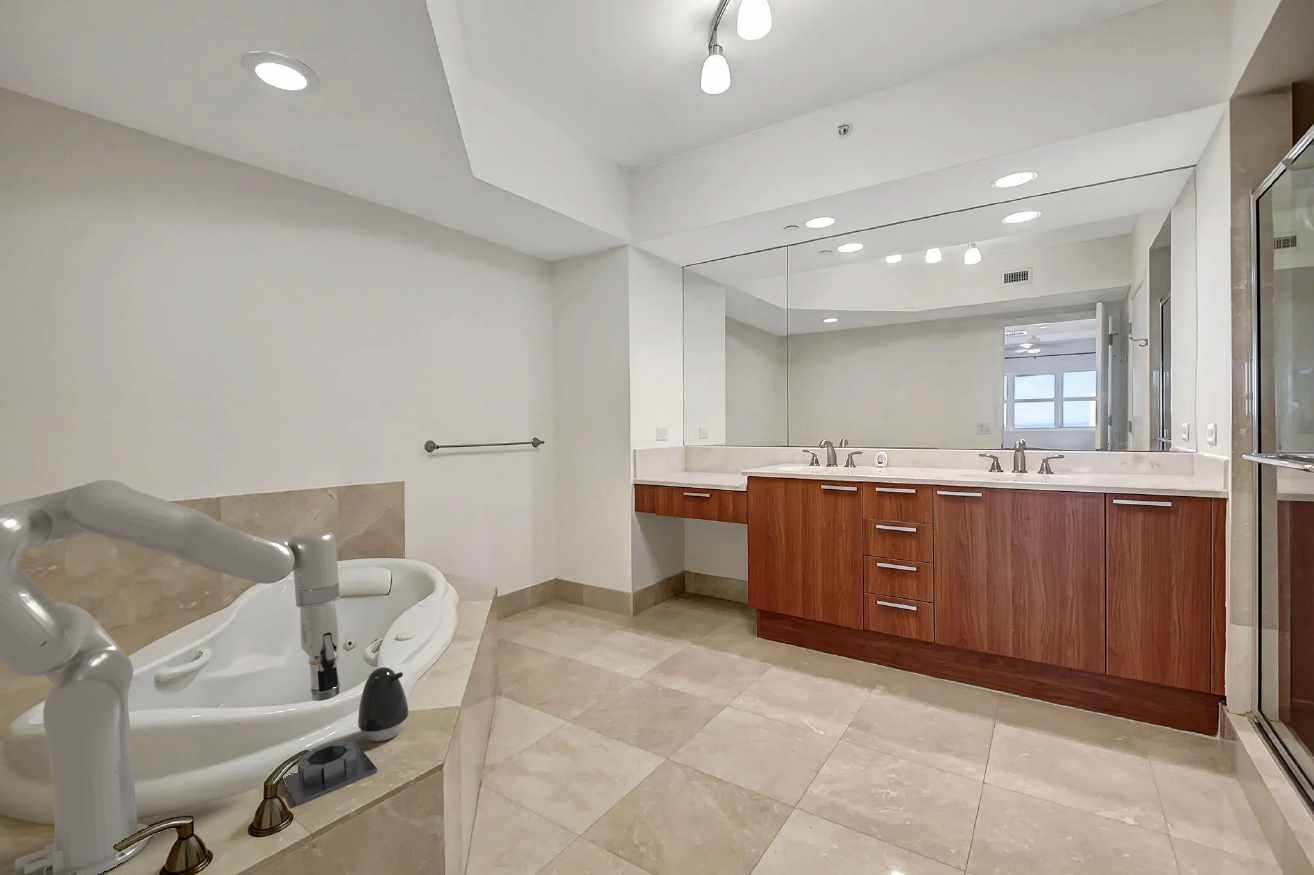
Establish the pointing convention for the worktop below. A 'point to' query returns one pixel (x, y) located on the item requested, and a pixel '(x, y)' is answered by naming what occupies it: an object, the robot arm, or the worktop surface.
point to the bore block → (328, 770)
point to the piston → (315, 691)
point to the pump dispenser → (382, 705)
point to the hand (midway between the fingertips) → (324, 683)
